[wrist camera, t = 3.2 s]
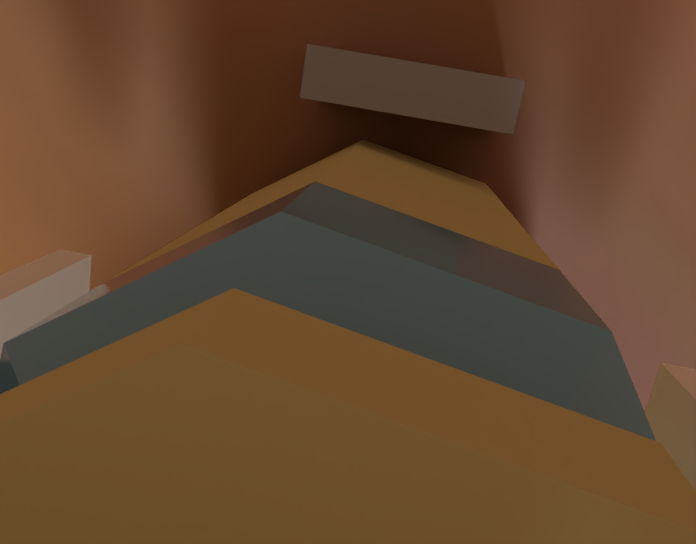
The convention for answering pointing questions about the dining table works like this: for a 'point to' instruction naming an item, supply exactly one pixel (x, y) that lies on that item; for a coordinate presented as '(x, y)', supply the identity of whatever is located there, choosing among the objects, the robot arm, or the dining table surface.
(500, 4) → the dining table surface
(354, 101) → the block
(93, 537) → the jar
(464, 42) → the dining table surface
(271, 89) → the dining table surface
